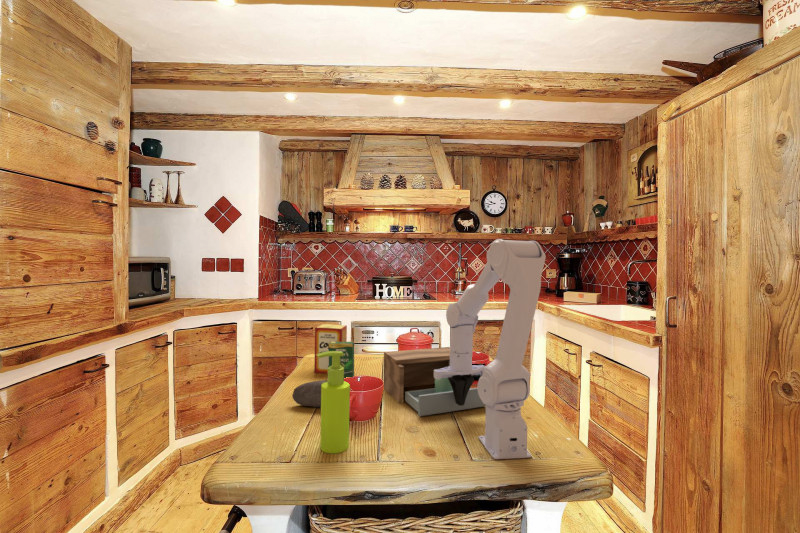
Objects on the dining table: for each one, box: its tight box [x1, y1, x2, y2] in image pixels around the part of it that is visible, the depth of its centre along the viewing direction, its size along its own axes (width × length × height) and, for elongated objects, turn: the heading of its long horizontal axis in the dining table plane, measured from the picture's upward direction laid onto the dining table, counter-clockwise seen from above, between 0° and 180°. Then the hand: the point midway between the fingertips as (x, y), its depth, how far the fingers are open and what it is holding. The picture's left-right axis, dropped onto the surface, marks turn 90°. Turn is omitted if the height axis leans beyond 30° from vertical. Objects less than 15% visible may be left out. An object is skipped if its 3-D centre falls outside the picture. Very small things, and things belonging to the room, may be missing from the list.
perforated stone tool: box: [291, 379, 328, 408], centre depth 103 cm, size 15×5×7 cm, turn 89°
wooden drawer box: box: [382, 346, 450, 404], centre depth 116 cm, size 13×23×11 cm, turn 113°
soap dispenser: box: [316, 351, 351, 454], centre depth 81 cm, size 6×7×20 cm
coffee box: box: [329, 341, 355, 378], centre depth 122 cm, size 8×3×13 cm, turn 86°
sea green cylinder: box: [434, 378, 452, 393], centre depth 106 cm, size 5×5×7 cm
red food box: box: [313, 323, 348, 374], centre depth 136 cm, size 10×6×16 cm
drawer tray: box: [404, 387, 486, 417], centre depth 105 cm, size 11×21×5 cm, turn 113°
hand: (459, 404), depth 98 cm, fingers closed
